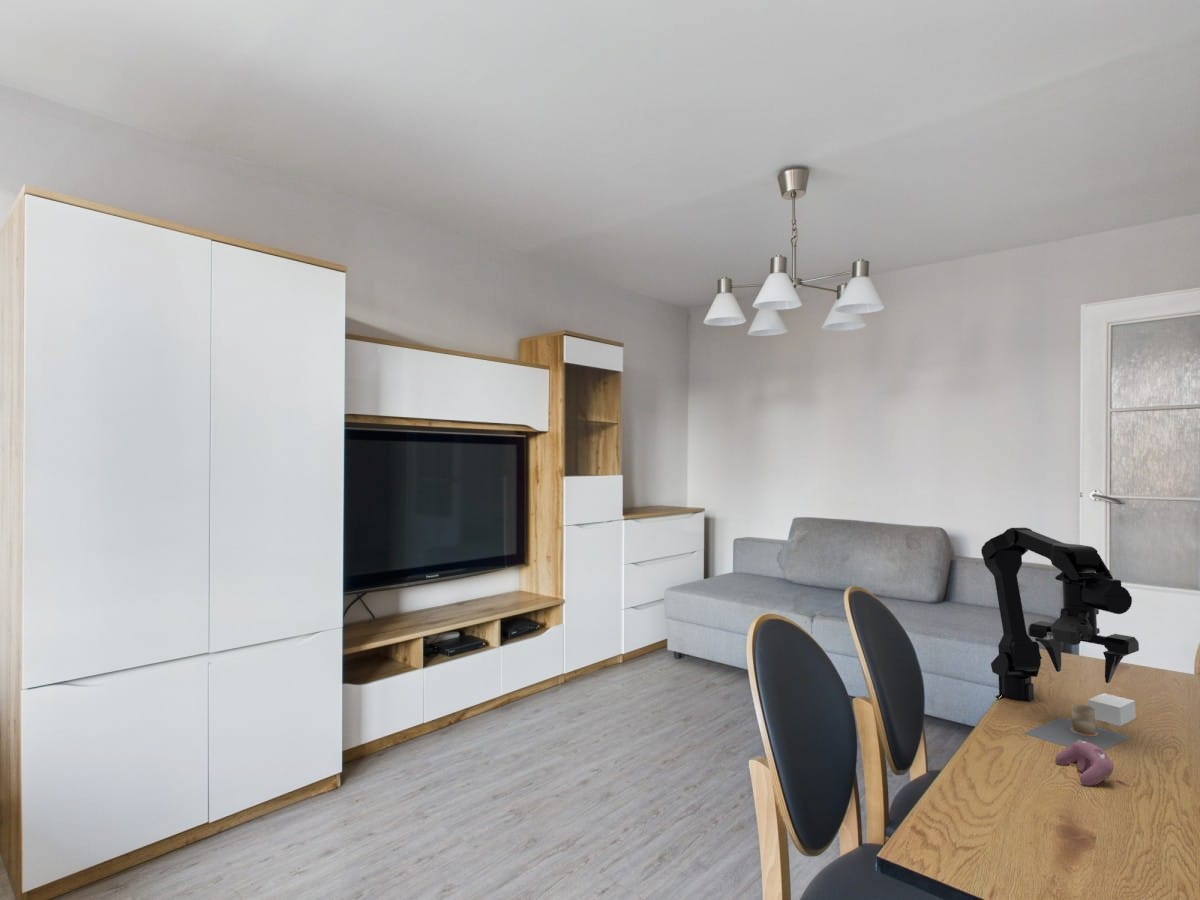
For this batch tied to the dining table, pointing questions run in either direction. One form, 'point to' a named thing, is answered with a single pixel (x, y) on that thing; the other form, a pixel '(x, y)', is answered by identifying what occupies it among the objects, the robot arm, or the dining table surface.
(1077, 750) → the video game controller
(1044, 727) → the board
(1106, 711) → the white rectangular block
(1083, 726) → the beige cylinder
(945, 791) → the dining table surface
